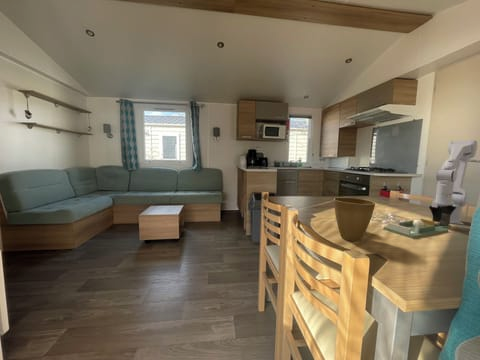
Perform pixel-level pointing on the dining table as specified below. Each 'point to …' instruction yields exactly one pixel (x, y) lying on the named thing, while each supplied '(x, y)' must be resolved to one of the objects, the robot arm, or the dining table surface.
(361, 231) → the plant pot
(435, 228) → the green long flat piece
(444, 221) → the block ended dumbbell
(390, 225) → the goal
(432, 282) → the dining table surface
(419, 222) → the ball
